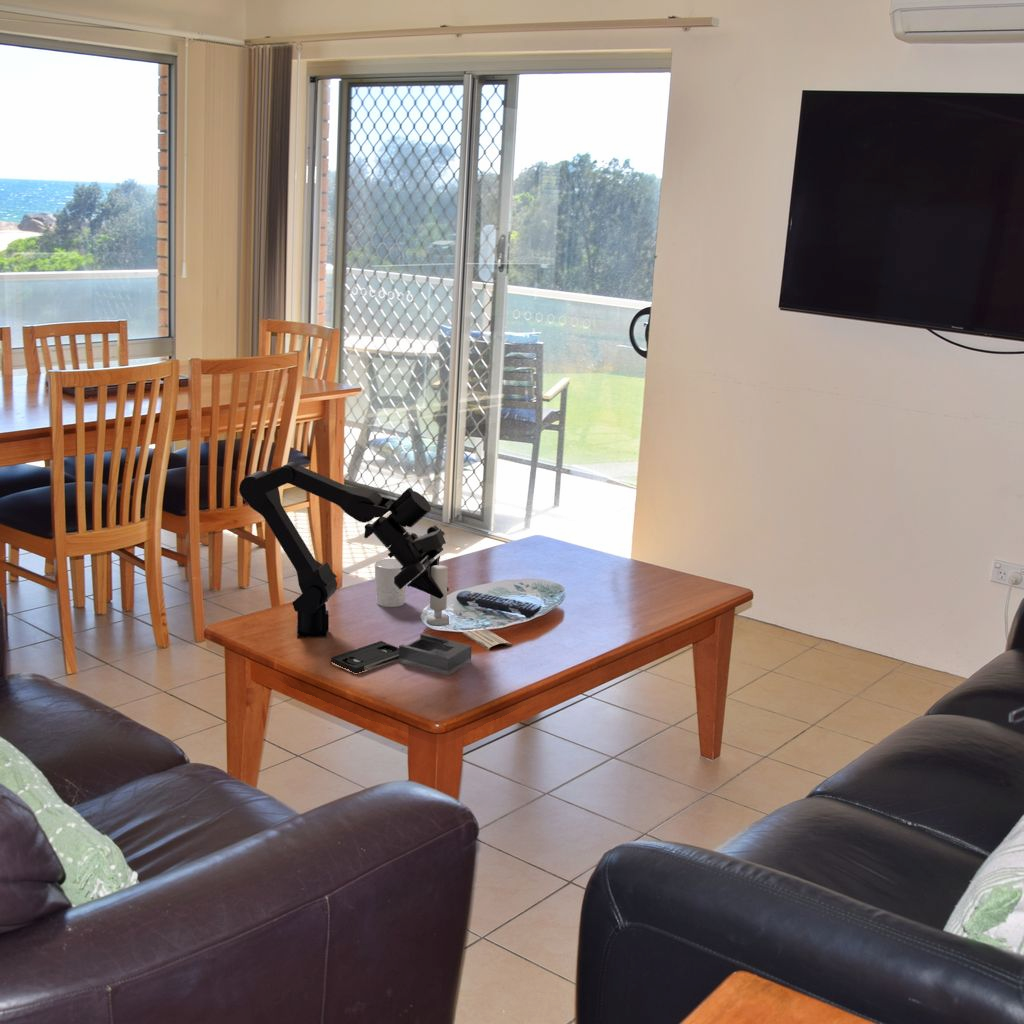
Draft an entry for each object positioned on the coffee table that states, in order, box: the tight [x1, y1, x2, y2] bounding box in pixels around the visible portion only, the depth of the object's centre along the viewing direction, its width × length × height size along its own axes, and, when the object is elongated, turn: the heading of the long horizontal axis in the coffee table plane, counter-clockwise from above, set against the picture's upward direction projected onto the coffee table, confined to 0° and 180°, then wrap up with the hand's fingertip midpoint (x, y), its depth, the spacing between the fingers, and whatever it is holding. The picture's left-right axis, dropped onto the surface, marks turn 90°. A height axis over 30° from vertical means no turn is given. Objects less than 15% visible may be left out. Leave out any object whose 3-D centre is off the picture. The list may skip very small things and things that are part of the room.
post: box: [425, 564, 449, 627], centre depth 257 cm, size 5×5×12 cm
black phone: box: [330, 640, 399, 673], centre depth 252 cm, size 14×8×2 cm, turn 139°
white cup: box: [374, 558, 407, 608], centre depth 286 cm, size 8×8×10 cm
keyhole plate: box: [398, 633, 473, 677], centre depth 252 cm, size 12×9×4 cm
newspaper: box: [461, 629, 513, 651], centre depth 272 cm, size 24×7×2 cm, turn 33°
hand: (444, 594), depth 257 cm, fingers closed on post, 4 cm apart
